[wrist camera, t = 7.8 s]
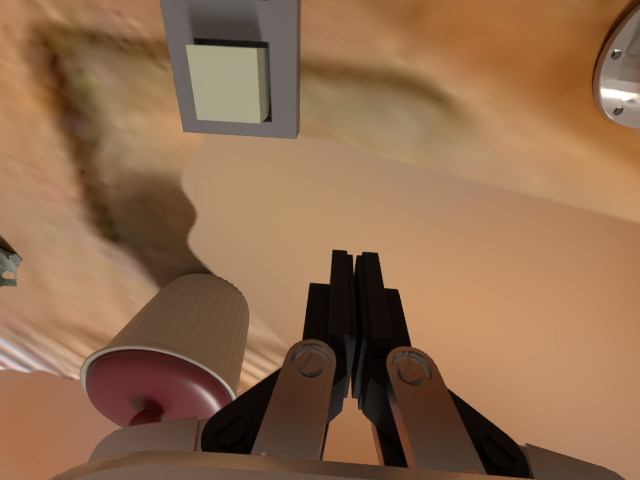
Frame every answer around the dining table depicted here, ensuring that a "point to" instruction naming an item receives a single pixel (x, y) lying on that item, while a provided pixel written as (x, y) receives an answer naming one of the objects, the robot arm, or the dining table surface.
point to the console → (246, 31)
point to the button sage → (230, 82)
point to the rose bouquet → (8, 267)
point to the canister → (172, 355)
